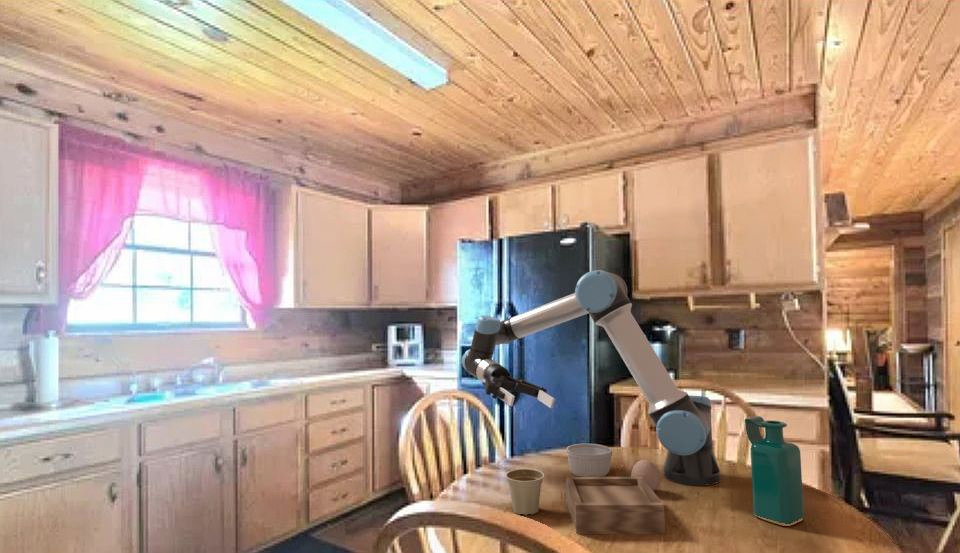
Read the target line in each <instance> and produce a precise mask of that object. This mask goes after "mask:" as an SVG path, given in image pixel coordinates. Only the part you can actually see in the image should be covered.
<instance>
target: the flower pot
mask: <svg viewBox="0 0 960 553" xmlns="http://www.w3.org/2000/svg"><path fill="white" fill-rule="evenodd" d="M544 478H545V474H544V472H543V471H541V470H537V469H532V468H517V469H512V470H510V471H507V472H506V473H505V479H507V483H508V485H509V491H510V498H511V505H512V510H513V512H514V513H515V514H517V515H520V514H525V515H524V516H528V515H531V516H532V515H535V514H537V513H538V512H539V510H540V497H541V489H542V484H543V480H544ZM519 513H520V514H519Z"/></svg>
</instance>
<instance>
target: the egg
mask: <svg viewBox="0 0 960 553" xmlns="http://www.w3.org/2000/svg"><path fill="white" fill-rule="evenodd" d="M630 473H631V474H630V477H642V478H643V479H644V480H645V482H646V483H647V484H648V486H649V487H650V488H651V489H652V491H653V492H654V491H655V490H656V489H658V487H659V484H660V474H659V471H658V469H657V467H656V466H655V465H654V463H653V462H652V461H649V460H648V459H640V460H638V461H637V462H636V463H634V465H633V467H632V469H631V472H630Z"/></svg>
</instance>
